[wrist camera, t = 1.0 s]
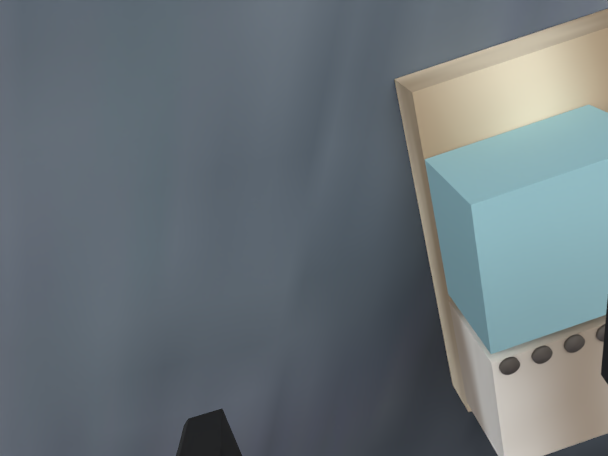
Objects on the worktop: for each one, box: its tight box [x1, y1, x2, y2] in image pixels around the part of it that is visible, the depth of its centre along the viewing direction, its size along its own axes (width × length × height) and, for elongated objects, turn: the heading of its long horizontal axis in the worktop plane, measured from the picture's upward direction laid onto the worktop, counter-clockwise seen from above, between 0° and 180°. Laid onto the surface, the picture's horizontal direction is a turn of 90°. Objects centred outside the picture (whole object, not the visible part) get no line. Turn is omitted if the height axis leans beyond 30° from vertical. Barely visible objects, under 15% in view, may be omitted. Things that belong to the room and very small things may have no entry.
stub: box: [425, 105, 608, 354], centre depth 16 cm, size 5×5×3 cm
